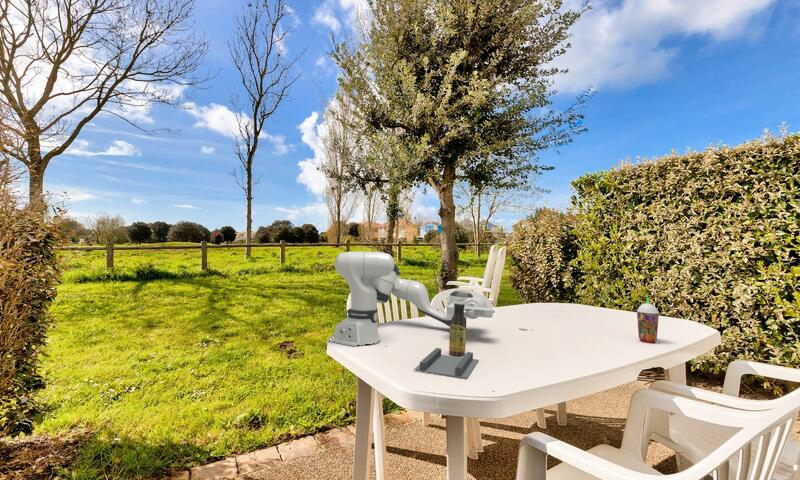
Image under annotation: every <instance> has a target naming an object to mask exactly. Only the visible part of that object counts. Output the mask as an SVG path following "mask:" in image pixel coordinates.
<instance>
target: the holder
mask: <svg viewBox="0 0 800 480" xmlns="http://www.w3.org/2000/svg"><path fill="white" fill-rule="evenodd" d="M479 361H480V360H479V359H477V358H474V352H470V351H467V352H466V353H465V354H464V355H463V357H461V356H454V355H447V354H446V355H445V354H442V348H441V347H435V348H434V349H433V350H432V351H431V352H430V353H428V355H427V356H426V357H424V358H423V359H422V360H421V361H420V362H419V364H418V365H417V366H416V367H415V368H413V371H414V370H416V371H422V372H421V373H423V372H428V373H427V374H429V373H434V374H433V375H436V374H439V375H438V376H443V375H444V376H445V377H451V378H455V379H456V378H457V379H463V380H468V378H469V377H470V376H471V374H472V372H473V371H474V369H475V367H476V366H477V364H478V363H479ZM416 371H415V372H416ZM444 376H443V377H444Z"/></svg>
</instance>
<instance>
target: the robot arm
mask: <svg viewBox="0 0 800 480" xmlns="http://www.w3.org/2000/svg"><path fill="white" fill-rule="evenodd" d="M334 268H335V271H336V272H337V274H338V275H340V276H341V277H342V278H343V279H344V280H345V282H346V283H347V285H348V287H349V292H350V303H351V304H350V305H351V306H350V308H349V309H348V310H347V309H346V311H345V314H347V316H346V317H345V318H344V319H342V320H341V321H340V322H338V324H336V325H335V327H334V331H333V335H331V336H329V337H328V340H327V341H328V342H331V343H336V344H341V345H346V346H349V345H350V346H349V347H358V346H357V345H360V346H366V345H365V344H371V345H374V344H373V343H375V344H377V343H376V342H378V341H379V340H380V341H381V339H380V336H379V331H378V318H379V317H378V316H379V315H378V314H379V313H378V312H379V311H378V310H379V309H378V307H377V306H378V304H385V303H388V301H389V300H390V298H391V295H393V296H394V297H396V298H399V300H402V301H405V302H410V303H412V304H413V305H414V306H415V307H416V309H417V311H418V312H420V313H421V314H424V315H426V316H428V317H430V318H432V319H434V320H436V321H438V322H440V323H442V324H444V325H446V326H448V327H449V328H450V325H451V319H452V317H453V315H454V308H455V307H454V303H457V302H458V303H464V304H465V307H464V317H465V319H466V320H467V318H468V319H470V320H475V319H478V318H488V319H489V318H493V315H494V314H495V312H496V310H495V309H493V307H490V306H487V302H486V300H485V299H484V298H483V297H481V296H475V295H473V294H472V293H471V292H469V291H466V290H454V291H452V292H451V293H450V294H449V296H448V297H449V298H448V302H447V306H446V313H444V312H442V311H440V310H438V309H436V308H435V307H433V306H432V304H431V302H430V297H429V292H428V289H427V288H426V286H425V285H424V284H423V282H422V283H421V282H419V281H416V280H413V279H405V278H401V277H399V276H401V274H402V273H401V272H400V269H399V267H398V266H397V264H395V261H394V258H393V256H392V255H391V254H390V253H386V252H382V251H345V252H340V253H339V254H337V256H336V258H335V260H334ZM377 303H378V304H377ZM333 337H334V338H333ZM330 339H331V340H332V341H331V340H330ZM329 340H330V341H329ZM380 341H379V342H380ZM379 342H378V343H379Z"/></svg>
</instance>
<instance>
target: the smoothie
mask: <svg viewBox="0 0 800 480" xmlns="http://www.w3.org/2000/svg"><path fill="white" fill-rule="evenodd" d="M649 301H650V299H649V297H646V303H642V304H640V305H639V307H637V310H636V315H637V329H638V330H637V331H638V332H637V333H638V339H639V341H640V342H642V343H645V344H656V341H657V340H658V328H659V315H660V312H659V310H658V308H657V307H656V306H655V305H653V304H652V303H650V302H649Z"/></svg>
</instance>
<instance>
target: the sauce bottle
mask: <svg viewBox="0 0 800 480" xmlns="http://www.w3.org/2000/svg"><path fill="white" fill-rule="evenodd" d="M454 307H455V308H454V315H453V317H452V319H451V325H450V327H449V344H448V349H449V350H448V351H449V354H450V356H454V357H461V356H465V354H466V353H465V352H466V344H467V343H466V342H467V340H466V339H467V318H466V319H465V317H464V307H465V304H464V303H458V302H457V303H454Z"/></svg>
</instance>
